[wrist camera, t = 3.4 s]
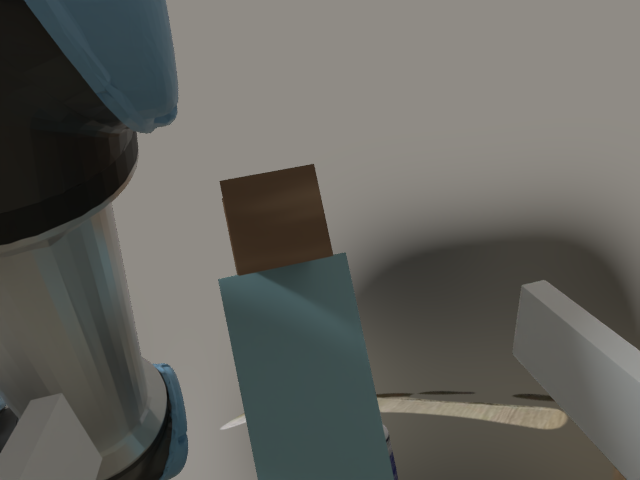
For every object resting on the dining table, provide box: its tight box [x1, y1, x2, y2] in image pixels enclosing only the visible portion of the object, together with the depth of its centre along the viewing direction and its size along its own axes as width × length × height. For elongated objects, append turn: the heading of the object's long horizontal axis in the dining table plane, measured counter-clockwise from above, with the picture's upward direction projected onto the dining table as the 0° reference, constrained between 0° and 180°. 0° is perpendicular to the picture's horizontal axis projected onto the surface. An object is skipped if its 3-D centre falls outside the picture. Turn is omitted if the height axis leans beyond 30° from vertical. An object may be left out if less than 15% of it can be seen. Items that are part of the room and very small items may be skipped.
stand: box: [218, 253, 394, 480], centre depth 31 cm, size 10×9×30 cm
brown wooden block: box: [220, 164, 333, 276], centre depth 27 cm, size 21×7×6 cm, turn 6°
